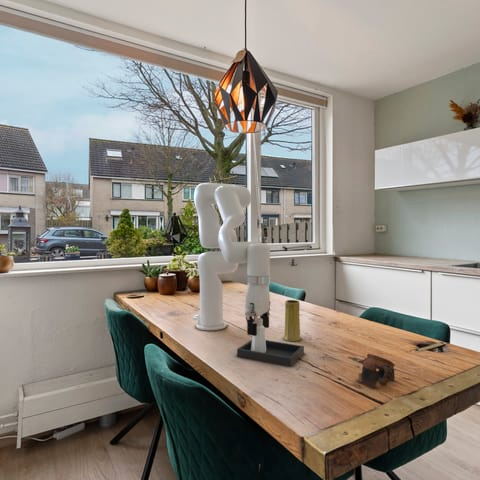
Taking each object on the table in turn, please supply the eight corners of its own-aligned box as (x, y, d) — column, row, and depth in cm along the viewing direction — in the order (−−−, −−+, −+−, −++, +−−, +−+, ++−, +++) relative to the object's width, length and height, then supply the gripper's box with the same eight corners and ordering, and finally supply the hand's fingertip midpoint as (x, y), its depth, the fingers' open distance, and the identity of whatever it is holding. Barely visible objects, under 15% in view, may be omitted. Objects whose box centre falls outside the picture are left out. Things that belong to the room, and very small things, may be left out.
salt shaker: (261, 355, 117) (261, 321, 117) (247, 352, 120) (247, 319, 119) (269, 350, 122) (269, 318, 121) (255, 347, 125) (255, 315, 124)
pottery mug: (349, 378, 102) (358, 350, 104) (378, 391, 103) (386, 363, 105) (372, 385, 90) (382, 354, 93) (404, 400, 91) (413, 369, 93)
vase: (299, 342, 132) (300, 303, 131) (283, 340, 133) (283, 302, 132) (300, 336, 138) (301, 299, 137) (284, 335, 139) (285, 299, 138)
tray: (237, 356, 117) (237, 348, 117) (254, 345, 129) (254, 338, 128) (290, 366, 109) (290, 358, 109) (304, 353, 120) (304, 346, 120)
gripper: (259, 276, 129) (259, 323, 130) (236, 283, 114) (236, 336, 115) (278, 277, 126) (278, 326, 127) (257, 285, 110) (257, 340, 111)
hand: (258, 331), depth 121 cm, fingers open, 9 cm apart
